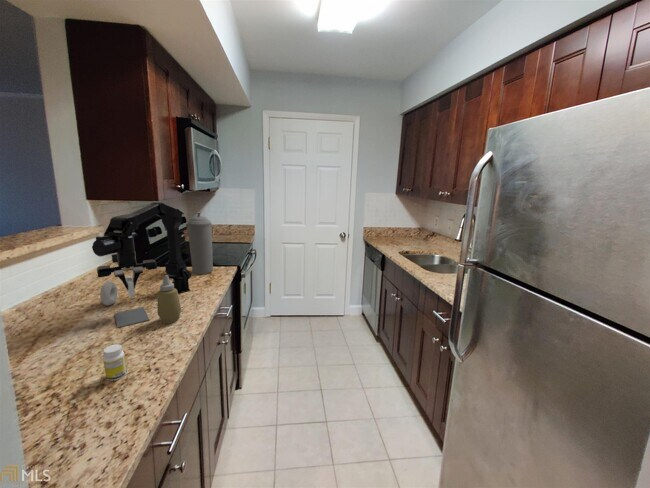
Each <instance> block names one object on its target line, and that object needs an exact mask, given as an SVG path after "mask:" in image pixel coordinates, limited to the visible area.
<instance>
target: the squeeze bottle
mask: <svg viewBox="0 0 650 488" xmlns="http://www.w3.org/2000/svg"><path fill="white" fill-rule="evenodd" d="M181 306H182V305H181V301H180V296H179V293H178V291H177V289H175V288H174V284H173V283H172V282H171V279H169V276H168V275H167V274H165V275H163V282H162V284H160V285H159V291H158V292H157V310H156V311H157V313H156V314H157V315H158V317H159V319H160V321H161V323H163V324H171V323H175V322H178V321H179V318H180V316H181V312H182V307H181Z"/></svg>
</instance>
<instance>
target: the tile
mask: <svg viewBox="0 0 650 488" xmlns="http://www.w3.org/2000/svg"><path fill="white" fill-rule="evenodd" d="M125 278H126V282H127V285H128V290H127V289H126V291H127V293H128V296H129V298H134V297H136V292H135V289H134V283H133V278H132V277H131V276H130V275H129V276H125Z"/></svg>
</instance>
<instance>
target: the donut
mask: <svg viewBox="0 0 650 488" xmlns="http://www.w3.org/2000/svg"><path fill="white" fill-rule="evenodd" d="M99 296H100V297H99V298H100V302H101V304H103V305H105V306H111V305H113V304H114V303H115V302H116V301H117V297H118V287H117V284H115V283H114V282H113V281H107V282H104V283H103V285H102V286H101V288H100V292H99Z"/></svg>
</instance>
